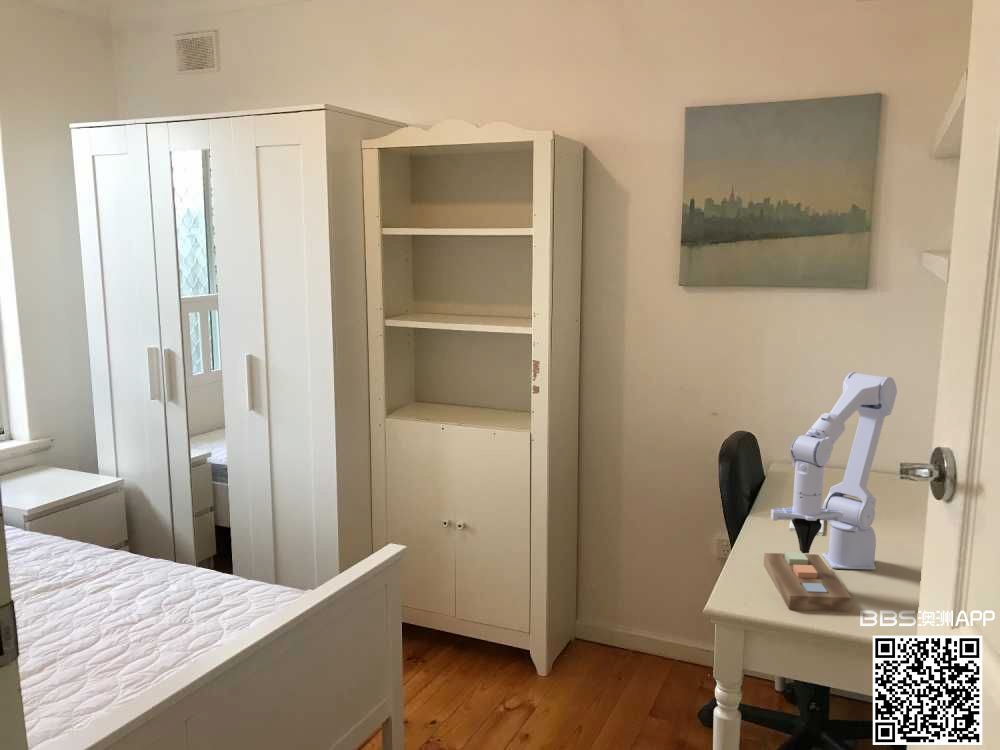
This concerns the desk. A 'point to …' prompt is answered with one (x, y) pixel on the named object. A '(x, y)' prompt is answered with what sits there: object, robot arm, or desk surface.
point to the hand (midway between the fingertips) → (804, 551)
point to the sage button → (796, 558)
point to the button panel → (793, 587)
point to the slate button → (814, 588)
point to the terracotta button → (805, 571)
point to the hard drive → (817, 533)
